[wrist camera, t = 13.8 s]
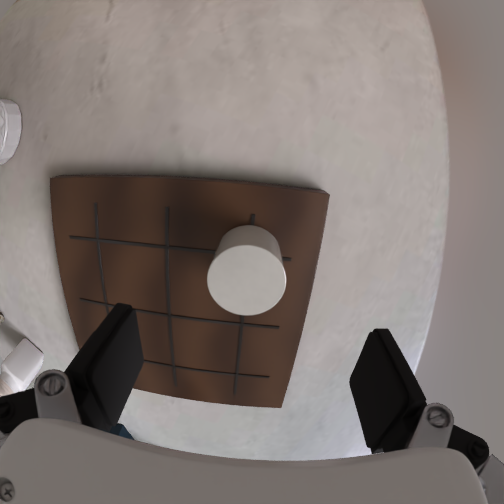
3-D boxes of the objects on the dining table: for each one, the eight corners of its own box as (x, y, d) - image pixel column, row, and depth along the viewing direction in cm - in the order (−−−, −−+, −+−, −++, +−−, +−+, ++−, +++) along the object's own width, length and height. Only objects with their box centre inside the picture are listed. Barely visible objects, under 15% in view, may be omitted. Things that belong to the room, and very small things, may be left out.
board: (324, 190, 20) (330, 194, 18) (280, 397, 28) (281, 409, 26) (59, 175, 19) (48, 178, 18) (93, 368, 27) (88, 376, 26)
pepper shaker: (24, 334, 26) (-13, 378, 17) (46, 353, 27) (10, 401, 18) (22, 349, 27) (-11, 390, 19) (42, 367, 28) (11, 411, 19)
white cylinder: (285, 228, 19) (292, 249, 15) (276, 288, 21) (280, 318, 17) (217, 221, 19) (208, 241, 15) (214, 282, 21) (205, 311, 17)
